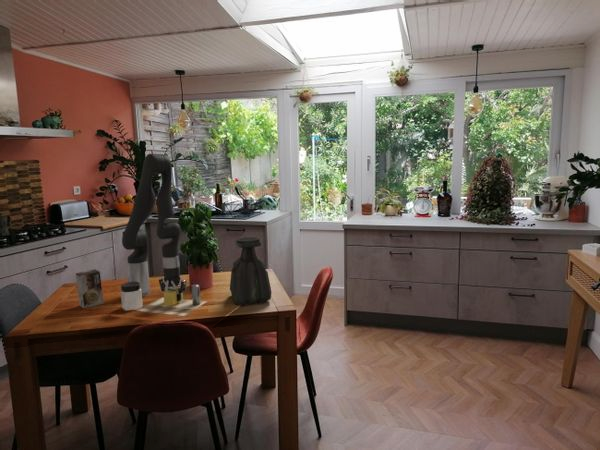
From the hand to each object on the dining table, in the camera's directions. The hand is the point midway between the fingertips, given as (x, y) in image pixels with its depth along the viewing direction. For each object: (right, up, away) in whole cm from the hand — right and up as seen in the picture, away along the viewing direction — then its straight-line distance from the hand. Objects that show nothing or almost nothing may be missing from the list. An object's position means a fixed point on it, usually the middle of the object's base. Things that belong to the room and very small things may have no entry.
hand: (173, 300), depth 202 cm
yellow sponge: (0, -1, 0) cm, 1 cm away
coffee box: (-40, -3, +3) cm, 40 cm away
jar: (-18, -3, -5) cm, 19 cm away
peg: (+12, -1, -3) cm, 12 cm away
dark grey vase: (+36, -1, +3) cm, 36 cm away
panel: (+1, -3, -5) cm, 6 cm away
